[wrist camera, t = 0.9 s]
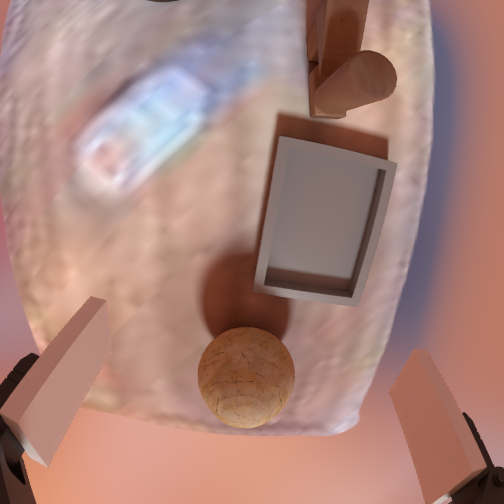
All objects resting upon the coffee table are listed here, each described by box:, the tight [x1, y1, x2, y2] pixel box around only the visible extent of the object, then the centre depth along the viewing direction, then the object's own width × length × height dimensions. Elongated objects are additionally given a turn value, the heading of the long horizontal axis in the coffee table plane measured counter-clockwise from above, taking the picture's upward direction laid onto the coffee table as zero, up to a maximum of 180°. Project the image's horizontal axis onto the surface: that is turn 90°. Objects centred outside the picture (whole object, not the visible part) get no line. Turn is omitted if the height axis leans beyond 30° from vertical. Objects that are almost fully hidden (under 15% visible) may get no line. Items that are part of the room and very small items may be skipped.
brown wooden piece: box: [307, 0, 397, 119], centre depth 23 cm, size 4×11×18 cm, turn 2°
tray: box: [252, 136, 397, 307], centre depth 36 cm, size 19×14×3 cm
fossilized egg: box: [198, 327, 295, 428], centre depth 38 cm, size 13×13×15 cm
